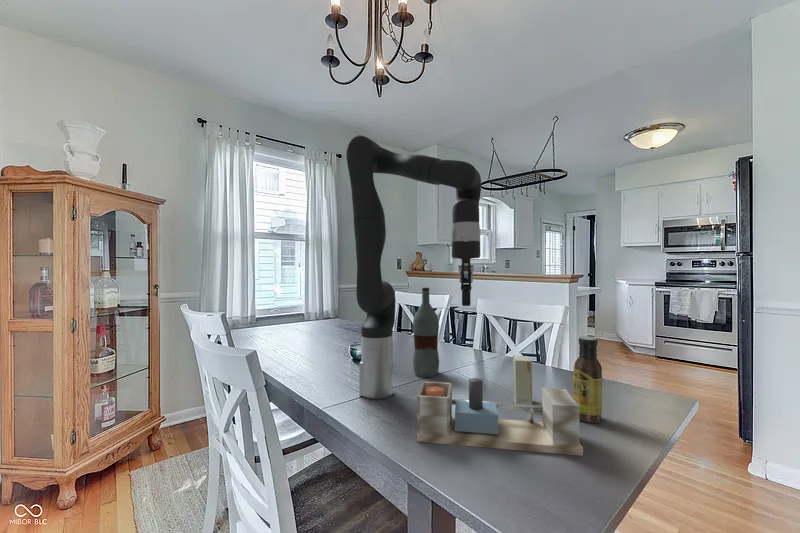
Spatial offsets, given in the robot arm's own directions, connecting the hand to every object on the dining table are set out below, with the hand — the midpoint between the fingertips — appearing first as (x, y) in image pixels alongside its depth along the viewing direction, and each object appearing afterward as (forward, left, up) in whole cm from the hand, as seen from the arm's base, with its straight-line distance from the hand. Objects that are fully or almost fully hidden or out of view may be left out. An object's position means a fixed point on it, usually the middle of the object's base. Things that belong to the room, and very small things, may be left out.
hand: (466, 305), depth 94 cm
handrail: (+7, -10, -26) cm, 28 cm away
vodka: (-14, +28, -27) cm, 41 cm away
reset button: (-7, -15, -22) cm, 27 cm away
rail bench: (+6, -15, -27) cm, 31 cm away
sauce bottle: (+29, -2, -27) cm, 40 cm away
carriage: (+2, -15, -25) cm, 29 cm away
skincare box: (+15, +6, -27) cm, 32 cm away
